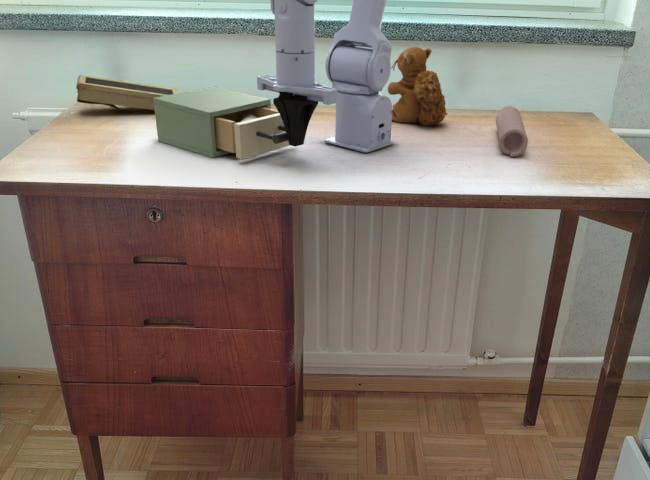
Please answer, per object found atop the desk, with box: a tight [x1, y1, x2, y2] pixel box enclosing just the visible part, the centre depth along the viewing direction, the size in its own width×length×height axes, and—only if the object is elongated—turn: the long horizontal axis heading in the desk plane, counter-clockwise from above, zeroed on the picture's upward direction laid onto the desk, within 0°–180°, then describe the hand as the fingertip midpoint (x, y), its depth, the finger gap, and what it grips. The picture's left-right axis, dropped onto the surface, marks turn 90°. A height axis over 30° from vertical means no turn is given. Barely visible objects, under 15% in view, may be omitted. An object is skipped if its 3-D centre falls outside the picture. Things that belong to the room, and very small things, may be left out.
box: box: [75, 74, 180, 112], centre depth 135 cm, size 8×22×5 cm, turn 107°
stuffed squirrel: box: [387, 46, 449, 126], centre depth 132 cm, size 10×14×13 cm
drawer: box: [214, 106, 290, 160], centre depth 113 cm, size 18×12×5 cm
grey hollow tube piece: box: [495, 105, 529, 158], centre depth 123 cm, size 5×5×18 cm
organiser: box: [153, 86, 272, 159], centre depth 117 cm, size 14×14×7 cm
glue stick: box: [241, 114, 257, 122], centre depth 113 cm, size 8×3×3 cm, turn 179°
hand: (296, 144), depth 108 cm, fingers closed
